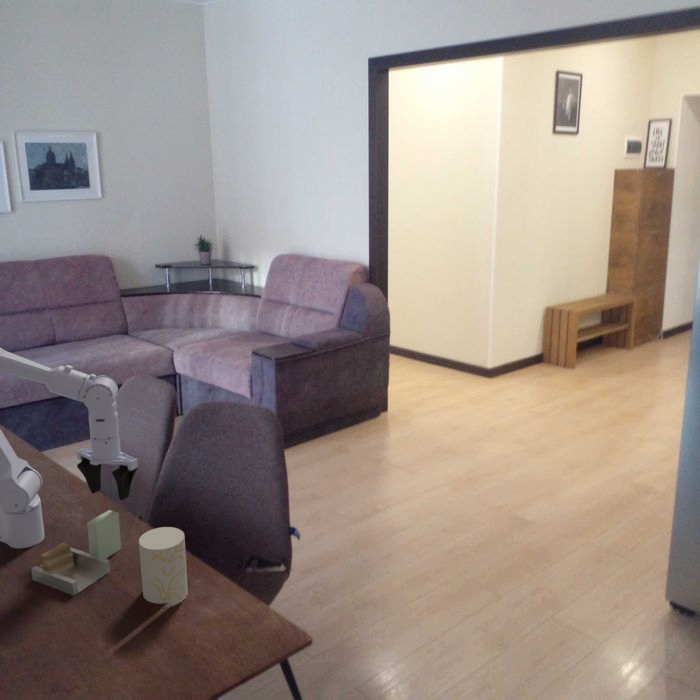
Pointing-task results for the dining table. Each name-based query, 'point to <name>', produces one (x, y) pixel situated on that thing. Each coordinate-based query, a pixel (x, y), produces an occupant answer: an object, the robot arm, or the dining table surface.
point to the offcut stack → (57, 559)
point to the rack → (74, 573)
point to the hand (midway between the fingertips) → (110, 494)
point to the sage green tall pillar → (104, 534)
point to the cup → (163, 566)
